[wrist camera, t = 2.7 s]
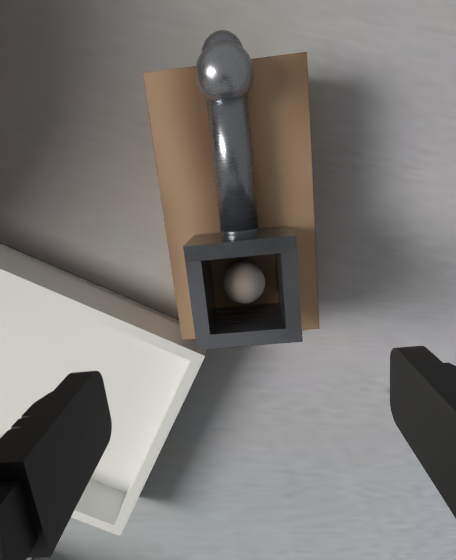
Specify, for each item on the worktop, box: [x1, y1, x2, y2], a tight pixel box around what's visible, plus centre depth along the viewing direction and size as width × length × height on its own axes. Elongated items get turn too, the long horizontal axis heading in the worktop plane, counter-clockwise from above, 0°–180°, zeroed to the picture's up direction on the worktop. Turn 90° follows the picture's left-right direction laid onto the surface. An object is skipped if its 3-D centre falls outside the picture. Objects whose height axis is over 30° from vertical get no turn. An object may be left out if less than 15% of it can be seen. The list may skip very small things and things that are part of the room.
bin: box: [0, 243, 207, 536], centre depth 29 cm, size 22×18×4 cm
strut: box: [183, 30, 302, 350], centre depth 20 cm, size 6×16×4 cm, turn 6°
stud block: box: [143, 52, 319, 340], centre depth 23 cm, size 9×16×8 cm, turn 6°
